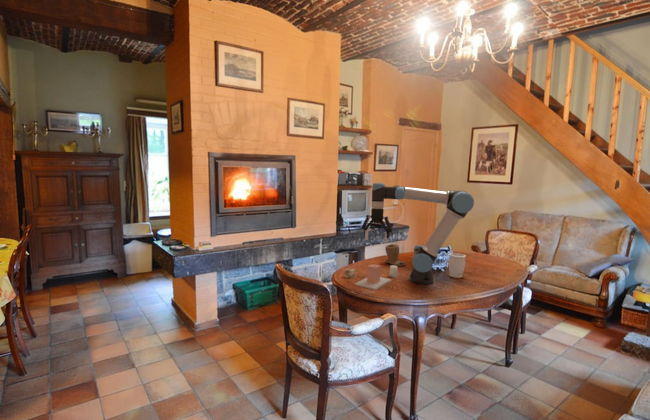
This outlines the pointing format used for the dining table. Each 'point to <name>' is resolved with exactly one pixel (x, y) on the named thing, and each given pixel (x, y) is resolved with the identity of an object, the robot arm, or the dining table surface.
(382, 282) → the grey mat
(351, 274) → the olive rounded lump
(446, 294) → the dining table surface
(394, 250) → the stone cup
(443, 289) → the dining table surface
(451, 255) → the jar
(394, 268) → the off-white cylinder
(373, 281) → the coral block
